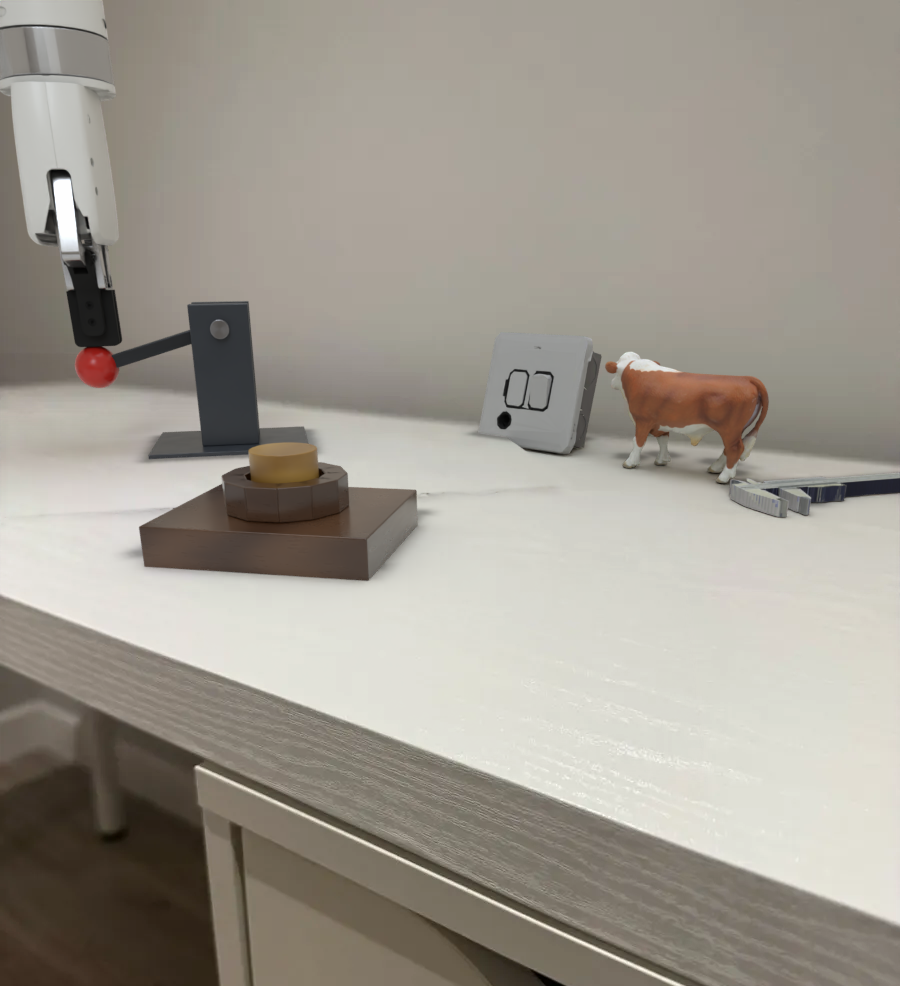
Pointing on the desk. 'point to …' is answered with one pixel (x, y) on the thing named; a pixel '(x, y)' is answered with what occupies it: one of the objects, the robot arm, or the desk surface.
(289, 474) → the button
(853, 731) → the desk surface
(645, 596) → the desk surface
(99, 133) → the robot arm
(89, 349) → the lever
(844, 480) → the caliper
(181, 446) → the switch bracket
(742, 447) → the bull figurine
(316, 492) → the block
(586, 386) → the electrical switch
